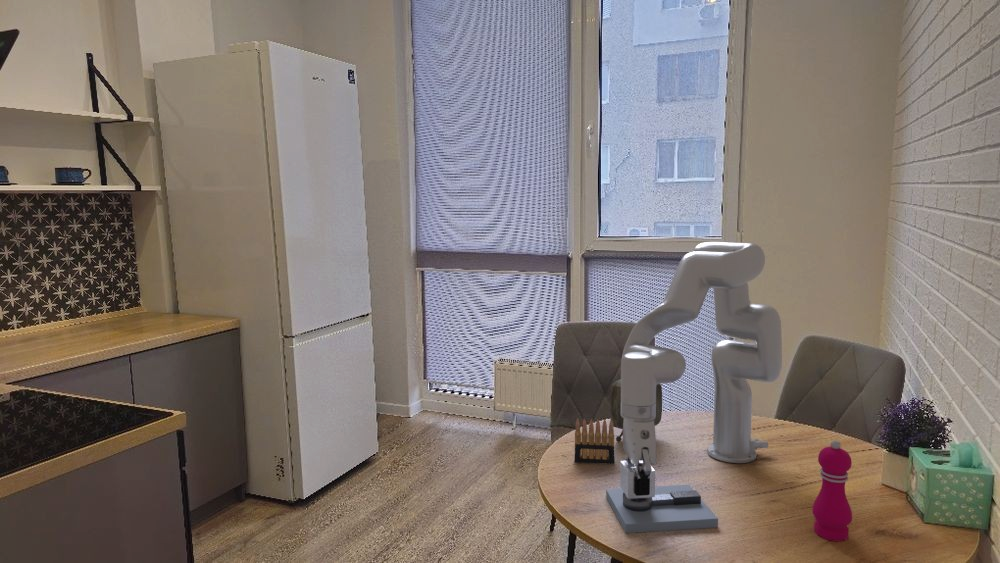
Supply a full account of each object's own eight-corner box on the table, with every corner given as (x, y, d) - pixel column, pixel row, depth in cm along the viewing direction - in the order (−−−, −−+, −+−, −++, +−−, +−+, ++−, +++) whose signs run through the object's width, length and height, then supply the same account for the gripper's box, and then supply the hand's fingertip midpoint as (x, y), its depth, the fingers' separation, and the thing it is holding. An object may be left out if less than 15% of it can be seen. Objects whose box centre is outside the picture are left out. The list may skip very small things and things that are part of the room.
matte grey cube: (646, 484, 139) (646, 459, 139) (654, 497, 134) (655, 470, 133) (620, 486, 139) (620, 460, 138) (627, 498, 133) (628, 472, 132)
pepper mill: (804, 525, 130) (808, 435, 128) (836, 523, 131) (841, 433, 128) (824, 544, 123) (829, 448, 121) (859, 541, 124) (864, 446, 121)
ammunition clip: (614, 461, 164) (614, 418, 163) (614, 464, 163) (615, 420, 161) (574, 459, 166) (574, 417, 165) (574, 462, 164) (574, 419, 163)
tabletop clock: (637, 428, 188) (638, 349, 185) (663, 436, 181) (664, 353, 178) (609, 442, 178) (609, 358, 175) (636, 450, 171) (637, 363, 168)
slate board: (688, 492, 146) (688, 484, 146) (717, 527, 130) (718, 518, 130) (606, 497, 144) (606, 489, 144) (625, 533, 129) (625, 524, 128)
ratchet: (692, 494, 141) (693, 471, 140) (704, 507, 135) (704, 483, 134) (619, 498, 140) (619, 475, 139) (627, 512, 133) (627, 488, 133)
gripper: (668, 422, 126) (667, 505, 128) (642, 396, 143) (641, 470, 145) (633, 423, 125) (632, 507, 127) (610, 397, 142) (610, 472, 144)
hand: (637, 487), depth 136 cm, fingers closed on matte grey cube, 6 cm apart
